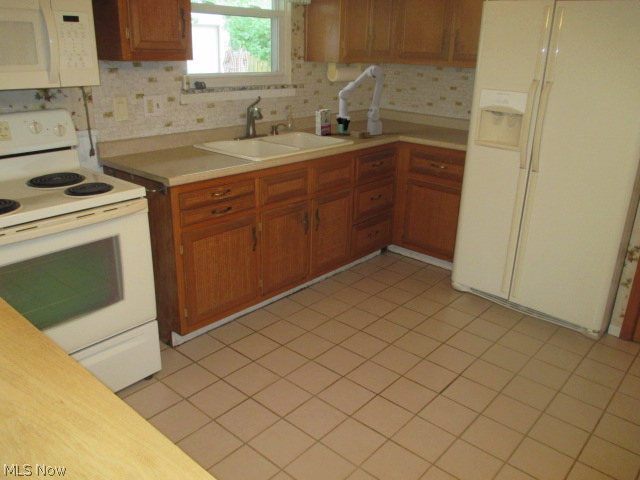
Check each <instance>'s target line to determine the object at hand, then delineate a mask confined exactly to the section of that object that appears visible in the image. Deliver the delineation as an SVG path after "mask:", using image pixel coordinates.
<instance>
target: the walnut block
mask: <svg viewBox="0 0 640 480" xmlns="http://www.w3.org/2000/svg"><path fill="white" fill-rule="evenodd" d="M370 136H371V135H370V132H368V131H366V130H362V129H361V130H360V129H357V130H351V131H350V135H349V137H350V138H352V139H353V138H354V139H357V140H359V139H369V138H370Z"/></svg>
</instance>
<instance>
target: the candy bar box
mask: <svg viewBox="0 0 640 480" xmlns="http://www.w3.org/2000/svg"><path fill="white" fill-rule="evenodd" d="M316 134H317V135H325V136H327V135H326V134H329V135H331V134H332V109H331V108H324V109H318V110H315V135H316Z"/></svg>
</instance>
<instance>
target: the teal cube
mask: <svg viewBox="0 0 640 480" xmlns="http://www.w3.org/2000/svg"><path fill="white" fill-rule="evenodd" d="M349 127H350V126H349V125H348V129H347V131H344V126H343V124H338V123H337V133H341V134H343V133H344V134H345V133H346V134H347V133H349Z"/></svg>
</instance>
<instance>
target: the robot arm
mask: <svg viewBox="0 0 640 480" xmlns="http://www.w3.org/2000/svg"><path fill="white" fill-rule="evenodd" d="M370 77H373V79H374V80H375V86H374V91H373V95H372V100H371V105H370V107H369V109H368V111H367V113H366V116H367V117H366V118H367V125H366V126H367V127H366V128H367V129H366V130H367V131H368V132H370V136H377V135H383V133H382V132H383V123H382V121H381V120H379V119H380V118H381V115H380V111H381V110H380V104H381V103H380V102H381V98H382V95H383V89H384V84H385V77H384V71H383V69H382V68H381V66H379V65H374V64H372V65H370V66H368V68H366V69H364V71H363V72H362V73H361V74H360V75H359V76H357V78H356V79H355V80H354V81H353V80H352V81H349V82H348V84H347V85H346V86H345V87H343V88H342V90H340V91H339V93H338V98H339V103H338V109H339V110H338V111H339V112H338V114H336V116H335V117H336V119H335V120H336V122H337V125H338V124H343V126H344V131H347V129H348V130H349V128H348V125H349V124H350V123H351V120H352V119H351V118H352V117H351V116H349V98H350V95H352V94H353V93H354V92H355V91H356V90H357V89H358V87H359V85H360V84H361V83H362V82H363V81H365V80H366V79H367V78H370Z"/></svg>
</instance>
